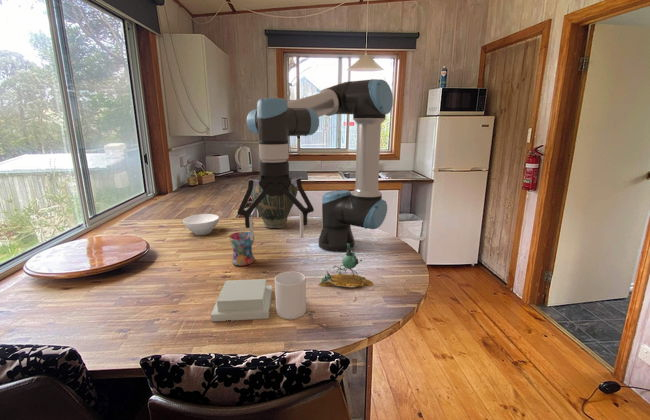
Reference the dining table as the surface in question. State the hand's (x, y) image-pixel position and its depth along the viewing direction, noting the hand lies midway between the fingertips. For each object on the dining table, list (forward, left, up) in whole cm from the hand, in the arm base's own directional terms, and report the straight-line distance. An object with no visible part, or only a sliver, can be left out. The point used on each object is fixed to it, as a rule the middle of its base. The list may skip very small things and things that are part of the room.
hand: (277, 237), depth 94 cm
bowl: (+39, -67, -20) cm, 81 cm away
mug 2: (-4, +4, -20) cm, 21 cm away
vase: (+5, -73, -20) cm, 76 cm away
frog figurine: (-21, -10, -20) cm, 31 cm away
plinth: (+10, +1, -20) cm, 22 cm away
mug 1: (+14, -31, -20) cm, 40 cm away
